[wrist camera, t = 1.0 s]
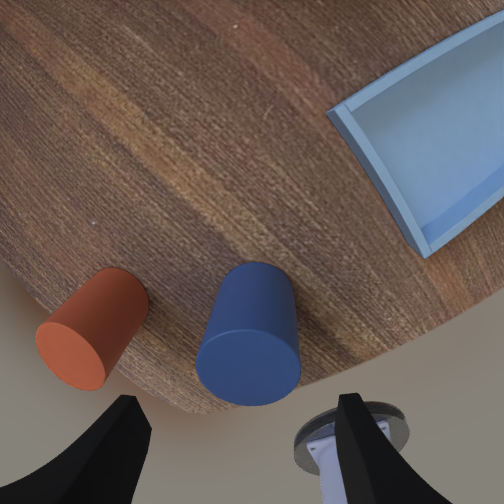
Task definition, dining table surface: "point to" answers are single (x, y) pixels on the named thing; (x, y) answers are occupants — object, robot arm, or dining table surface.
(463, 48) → the blue tray
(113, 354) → the orange cylinder
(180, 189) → the dining table surface
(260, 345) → the blue cylinder
